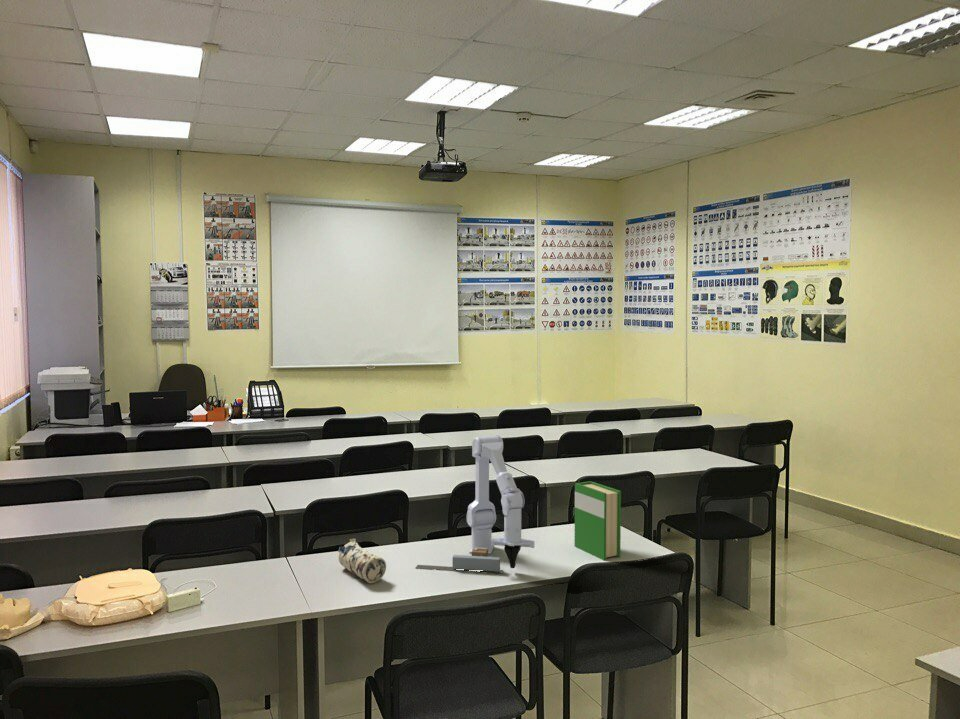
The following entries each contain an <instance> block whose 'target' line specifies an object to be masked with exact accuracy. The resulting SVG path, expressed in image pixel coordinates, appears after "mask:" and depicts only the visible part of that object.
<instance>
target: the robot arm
mask: <svg viewBox="0 0 960 719" xmlns="http://www.w3.org/2000/svg"><path fill="white" fill-rule="evenodd" d="M471 443H472V444H471V449H472V450H471V453H472V454H471V456H472V457H473V458H475V486H474V487H475V488H474V489H475V493H474V494H475V496H474V497H475V498H474V500H473V501H472V502H471V503H469V505H468V506H467V512H466V523H467V525H468V526H469V527H470V528H471V548H470V549H469V551H468V553H470V554H472V550H473V549H474V547H478V548H488V555H491V553H492V552H493V550H494V548H495V546H502V547H503V546H504V548H503V550H504V553H505V554H506V556H507V559H508V563H509V567H510V569H515V568H516V562H517V557H518V555H519V553H520V550H521V548H530V549H534V548H535V542H536V541H535V540H531V539H525V538H522V509H523V508H524V506H525V501H526V500H525V496H524V493H523V491H521V490H520V488H517V485H516V482H515V480H514V477H513V474H512V473H510V472H508V470H507V467H506V462H505V460H504V456H503V451H504V440H503V437H501V435H499V434H496V435H488V436H487V435H486V436H485V435H484V436H475V437H474V438H473V439H472V442H471ZM490 463H491V465H492V467H493V470H494V472H495V473H496V475H497V477H496V479H495V482H496V484H497V488H498V490H499V492H500V494H501V499H500V503H501V507H502V514H503V516H504V517H503V519H504V522H503V523H504V524H503V528H504V529H503V531H504V532H503V534H504V536H503V537H500V538H493V536H492V534H493V533H492V532H493V530H492V528H493V527H494V525H495V523H496V520H497V514H496V506H495V505H494V503H493V502H492V501H490Z"/></svg>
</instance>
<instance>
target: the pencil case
mask: <svg viewBox="0 0 960 719" xmlns="http://www.w3.org/2000/svg"><path fill="white" fill-rule="evenodd" d="M338 553H339V555H338V562H339V563H340V565H341V566H343V568H345V569H346V570H348V571H349V572H350V573H352V574H353V575H355V576H357V577H359V578H360V579H361V580H365V582H367V583H368V584H371V585H372V584H375V583H377V582H379V581H380V580H381V579H382V578H383V577H384V576H385V573H386V571H387V562H386V561H385V559H384V558H382V557H381V556H378V555H374V554H373V553H371V552H369V551H368V550H365V549H363V547H361V545H360V544H359V543H358V542H356V538H350V539H349V542H348V543H346V544H344V546H342V545H341V546H339V548H338Z"/></svg>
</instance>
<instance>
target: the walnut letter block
mask: <svg viewBox="0 0 960 719" xmlns="http://www.w3.org/2000/svg"><path fill="white" fill-rule="evenodd" d="M471 556H484V557H489V554H488V548H478V547H474V549H473V550H472V553H471Z"/></svg>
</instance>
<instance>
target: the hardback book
mask: <svg viewBox="0 0 960 719" xmlns="http://www.w3.org/2000/svg"><path fill="white" fill-rule="evenodd" d="M621 504H622V491H621V490H619V489H616V488H613V487H610V486H606V485H604V484H600V483H597V482H593V481H591V480H590V481H583V482H576V483H574V548H577V549H579V550H581V551H583V552H585V553H586V554H589V555H591V556H594V557H596V558H598V559H600V560H602V561H606V560H607V558H611V557H616V558H621V539H622V538H621V535H622V534H621V525H622V524H621V521H622V518H621V513H622V512H621V511H622V505H621Z"/></svg>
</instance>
